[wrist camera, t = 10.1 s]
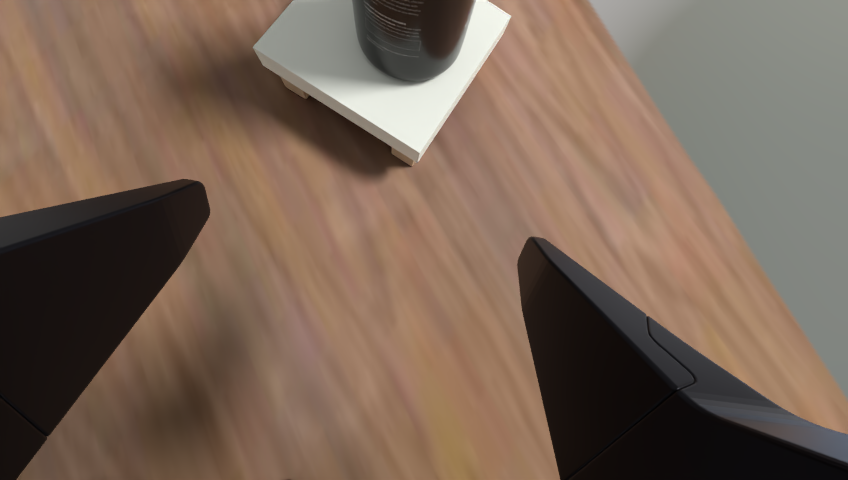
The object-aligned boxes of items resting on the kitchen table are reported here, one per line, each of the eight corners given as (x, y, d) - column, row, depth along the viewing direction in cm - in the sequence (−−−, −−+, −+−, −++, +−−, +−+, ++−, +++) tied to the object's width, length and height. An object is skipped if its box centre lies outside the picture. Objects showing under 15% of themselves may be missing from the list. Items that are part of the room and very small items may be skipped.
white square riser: (414, 175, 23) (419, 152, 20) (275, 87, 23) (252, 47, 19) (492, 57, 26) (511, 16, 22) (366, -24, 26) (362, -81, 22)
